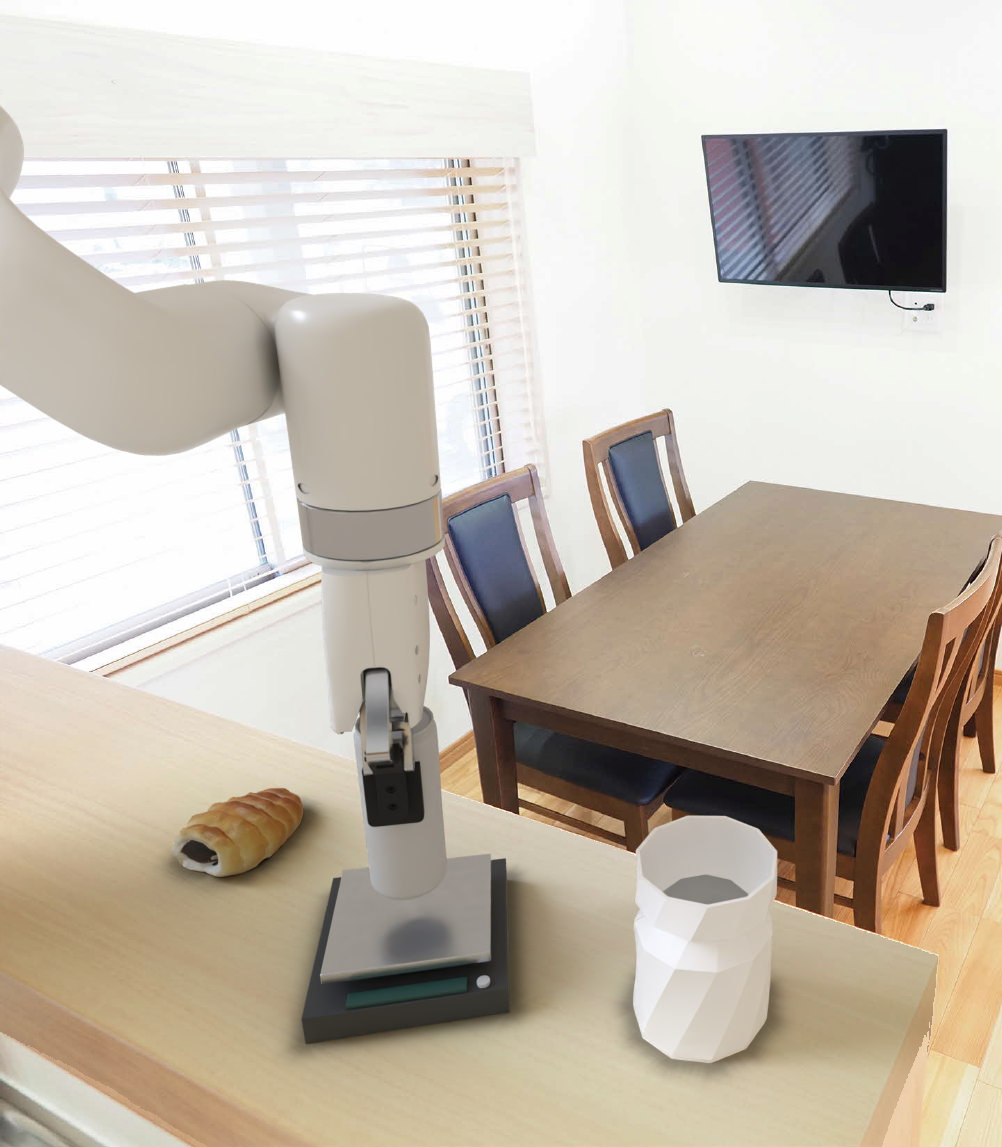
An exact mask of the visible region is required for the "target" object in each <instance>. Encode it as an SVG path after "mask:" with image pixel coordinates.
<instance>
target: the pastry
mask: <svg viewBox="0 0 1002 1147" xmlns="http://www.w3.org/2000/svg"><path fill="white" fill-rule="evenodd" d="M301 799H302V798H301V797H300V796H299V795H298V794H295V793H293V792H291V791H290V790H289V789H287V788H285V787H271V788H266V789H262V790H260V791H257V792H251V791H250V792H248V793H246V794H245V795H242V796H232V797H229V799H227V801H224V802H221V801H220V802H214V803H212V804H211V805H210V806H209V807H208V809H207V810H206V811H204V812H201V813H196V814H194V815H192V816H191V818H190V819H189V820H188V821H187V823H186V826H185V827H183V828H181V829H180V831H179V833H178V835H177V836H176V837H175V838H174V841H173V844H172V845H171V847H170V851H171V856H172V857H173V859H175V860H177V861H178V862H179V864H180V865H182V867H183V868H185V869H187V870H189V871H194V872H195V871H196V872H200V873H207V875H208V874H209V875H211V876H214V877H218V878H219V877H230V876H234V875H241V874H243V873H246V872H248V871H251V870H252V869H255V868H257V866H259V864H260V863H261V862H262V861H264V860H265V859H270V858H271V857H272V856H273V855H274V854H275V853H276V852H278V851H279V849H280V847H281V846H283V845H284V844H285V843H286V842H287V840H288V839H289V838H290V837H291V836H292V835H293V834H294V833H295V831H296V830H297V829H298V827H299V826H300V824H301V822H302V819H303V816H304V805H303V802H302V800H301Z"/></svg>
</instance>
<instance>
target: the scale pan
mask: <svg viewBox="0 0 1002 1147" xmlns="http://www.w3.org/2000/svg"><path fill="white" fill-rule="evenodd" d="M491 860H492V854H491V853H484V854H475V855H467V856H457V857H456V856H455V857H448V858H447V871H446V875H445V877H444V878H443V880H442V882H441V883H440V884H439V885H438V886H437V887H436V888H435V889H434V890H432V891H431V892H429V893H427V894H426V895H423V896H421V897H418V898H414V899H409V900H396V899H391V898H388V897H385V896H383V895H382V894H380V893H379V892H378V891H376V890H375V889H374V887H373V886H372V884H371V878H370V870H369V866H368V867H359V868H351V869H343V870H342V873H341V876H340V877H341V881H340V886H339V890H338V895H337V900H336V904H335V909H334V914H333V918H332V923H331V928H330V932H329V937H328V941H327V946H326V951H325V955H324V960H323V965H322V969H321V974H320V978H321V984H322V985H325V984H332V983H339V982H346V981H353V980H360V979H368V978H375V977H382V976H389V975H396V974H403V973H410V972H418V971H425V970H432V969H439V968H446V967H453V966H460V965H468V964H475V963H482V962H489V961H491Z"/></svg>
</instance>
